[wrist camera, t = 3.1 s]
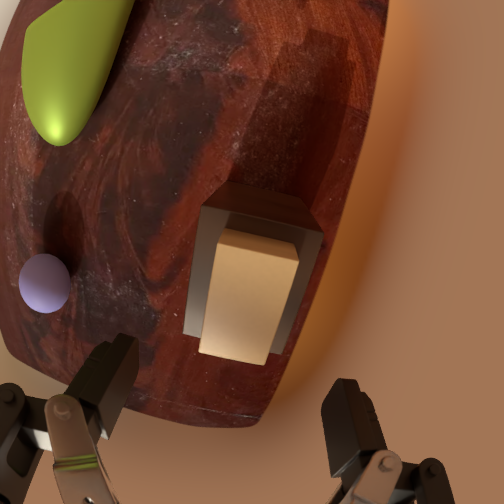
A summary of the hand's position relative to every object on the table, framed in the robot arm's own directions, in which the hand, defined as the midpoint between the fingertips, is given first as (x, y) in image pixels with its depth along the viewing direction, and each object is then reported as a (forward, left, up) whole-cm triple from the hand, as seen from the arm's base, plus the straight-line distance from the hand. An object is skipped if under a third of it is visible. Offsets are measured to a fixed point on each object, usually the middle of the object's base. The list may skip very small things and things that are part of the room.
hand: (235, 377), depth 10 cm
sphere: (+24, -3, -19) cm, 31 cm away
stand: (0, 0, -18) cm, 18 cm away
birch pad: (0, 0, -7) cm, 7 cm away
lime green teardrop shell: (+9, -24, -18) cm, 32 cm away
